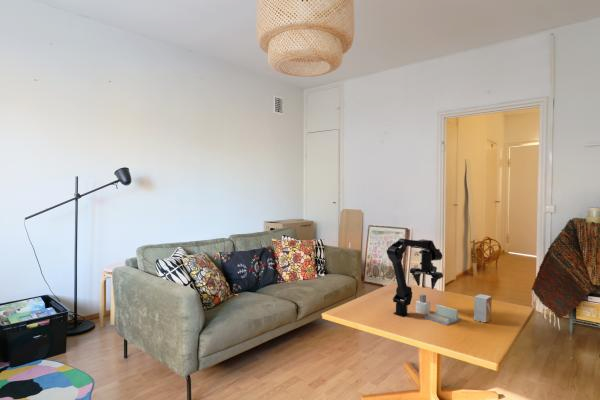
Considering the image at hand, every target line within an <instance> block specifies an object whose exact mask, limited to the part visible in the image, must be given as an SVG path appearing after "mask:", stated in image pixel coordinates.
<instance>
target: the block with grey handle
mask: <svg viewBox="0 0 600 400" xmlns="http://www.w3.org/2000/svg"><path fill="white" fill-rule="evenodd" d="M415 312H416V313H419V314H422V315H428V313H430V314H431V302H430V301H427V295H426V294H423V293H422V294H419V300H416V301H415Z"/></svg>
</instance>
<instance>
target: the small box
mask: <svg viewBox="0 0 600 400" xmlns="http://www.w3.org/2000/svg"><path fill="white" fill-rule="evenodd" d="M492 297H493V296H491V295H487V294H482V293H479V294H476V295H475V296H474V298H473V299H474V300H473V301H474V302H473V303H474V304H473V305H474V306H473V309H474V310H473V311H474V312H473V321H475V320H476V321H475V322H479V321H481V322H480V323H483V322H487V321H488V322H490V321H491V320H492ZM490 319H491V320H490ZM489 320H490V321H489ZM488 322H487V323H488Z"/></svg>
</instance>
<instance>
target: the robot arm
mask: <svg viewBox="0 0 600 400" xmlns="http://www.w3.org/2000/svg"><path fill="white" fill-rule="evenodd" d="M408 247H414V248H419V249H421V250H419V251H418V254H421V256H420V258H421V261H420V262H419V265H420V267H412V268H410V269H409V274H411V275H412V276H413V278H414V280H415V282H416V284H417V286H418V287H420V285H421V283H420V282H421V275H426V276H427V275H428V276H431V277H430V283H431V284H430V285H431V290H434V288H435V286H436V284H437V282H438V281H439V280H441V279H443V278H444V274H443V272H440V271H437V269H438V267H437V266H436V265H435V266H434V263H433V261H441V260H442V259H443V254H442V252H441V250H440V248H437V247H436V246H435V243H434V241H433V240H430V239H423V238H422V239H418V240H415V239H407V238H402V237H401V238H399V239H398V240H397V241H395V242H394V243H392V244H391V245H390V246H389V247H388V248H387V249H386V254H387V257H388V259H389V261H390V262H391V263H392V268H393V272H394V275H395V276H394V277H395V279H396V285H397V286H396V290H395V291H396V292H395V294H394V296H393V298H392V302H393V303H395V311H394V312H393V314H394V315H397V316H400V317H405V316H406V317H407V316H409V315H410V313H409V312H408V306H410V305H411V302H412V299H413V292H412V291H413V290H412V286H408V285H407V281H406V277H405V273H404V272H405V271H404V267H403V263H402V261H403V258H404V253H405V252H406V250H407V248H408Z"/></svg>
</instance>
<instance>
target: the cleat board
mask: <svg viewBox="0 0 600 400" xmlns="http://www.w3.org/2000/svg"><path fill="white" fill-rule="evenodd" d="M435 305H436V307H435V309H436V311H435V312H433V313H431V312H430V313H428V314H426V315H424V316H423V319H426V320H429V321H432V322H436V323H438V324H441V325H445V326H450V325H452V324H455V323H458V322H460V321H462V317H459V310H458V309H455V308H452V307H448V306H445V305H441V304H435Z"/></svg>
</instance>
